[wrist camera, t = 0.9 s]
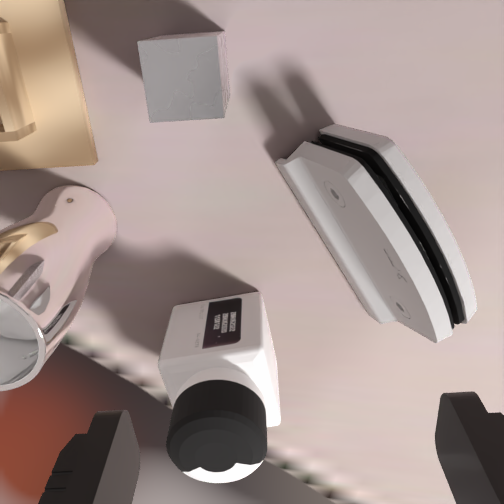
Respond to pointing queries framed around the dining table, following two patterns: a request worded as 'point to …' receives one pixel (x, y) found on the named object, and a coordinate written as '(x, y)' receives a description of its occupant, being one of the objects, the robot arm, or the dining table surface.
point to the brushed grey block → (185, 76)
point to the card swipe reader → (382, 229)
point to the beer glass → (47, 276)
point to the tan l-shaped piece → (41, 89)
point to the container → (220, 386)
